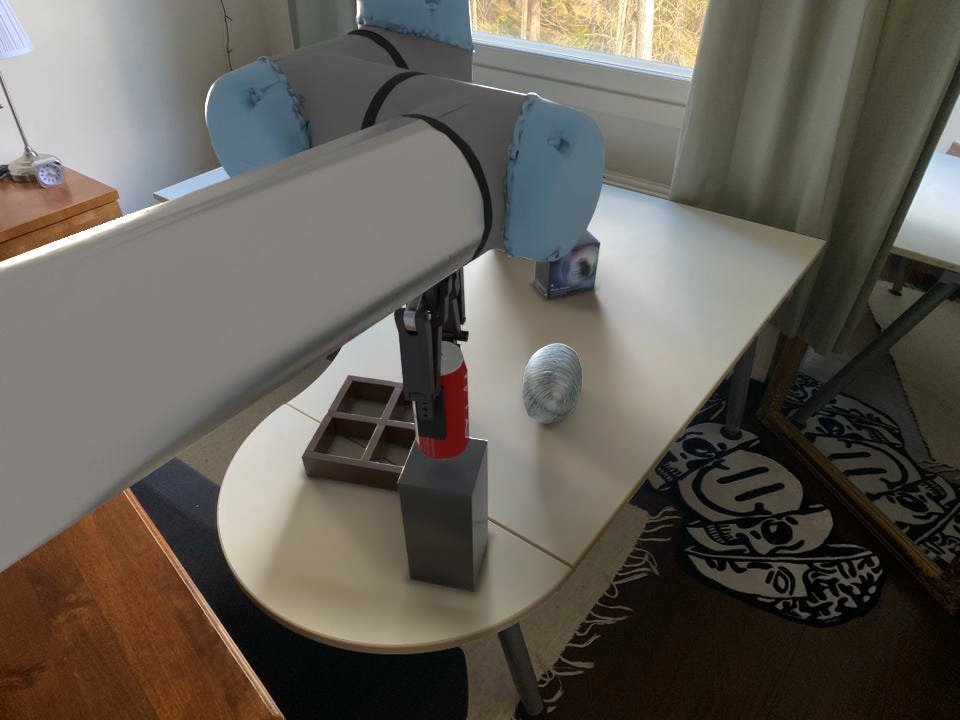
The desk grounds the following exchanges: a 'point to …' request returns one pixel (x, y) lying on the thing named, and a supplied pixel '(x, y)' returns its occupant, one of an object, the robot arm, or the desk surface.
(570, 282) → the small box
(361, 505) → the desk surface
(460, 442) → the soda can
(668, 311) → the desk surface
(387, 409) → the can rack
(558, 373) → the yarn skein
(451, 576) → the block
